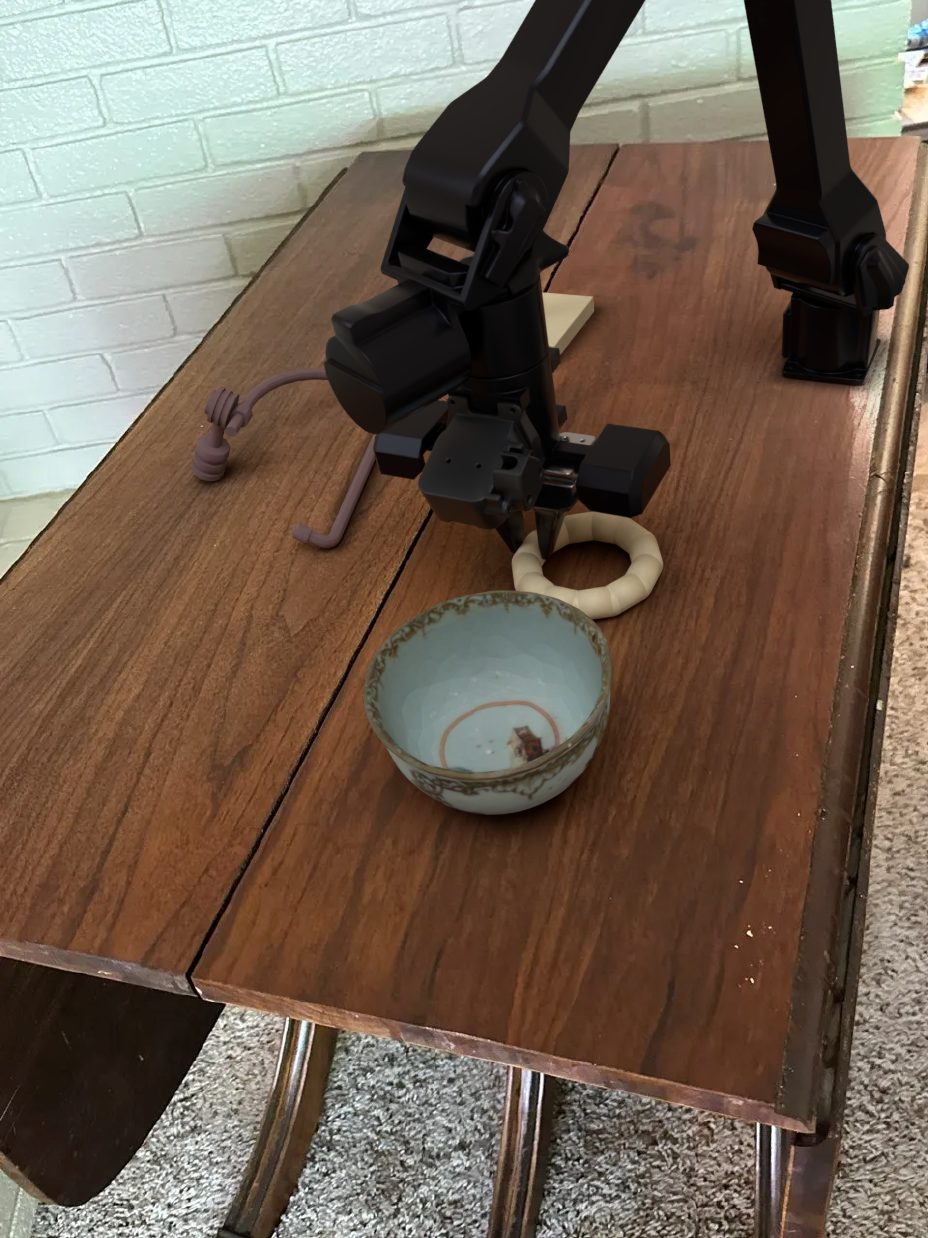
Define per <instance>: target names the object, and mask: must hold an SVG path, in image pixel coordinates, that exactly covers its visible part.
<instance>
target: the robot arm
mask: <svg viewBox="0 0 928 1238" xmlns="http://www.w3.org/2000/svg"><path fill="white" fill-rule="evenodd" d="M645 2H646V0H534V1H533V3H532V5H531V7H530V8H529V10H528V12H527V13H526V16H525V17H524V18H523V20H522V22H521V24H520V25H519V27H518V29H517V31H516V32H515V34H514V35H513V37H512V39H511V41H510V42H509V45H508V46H507V48H506V50H505V51H504V53H503V55H502V56H501V58H500V60H499V61H498V62H497V63H496V64H495V66H494V67H493V68H492V70H491V71H490V72H489V73H488V75H487V76H485V77H484V78H483V79H481V80H480V81H479V82H477V83H476V84H474V85H473V86H471V87H470V88H469V89H467V90H466V91H465V92H463V93H462V94H460V95H459V96H458V97H456V98H455V99H453V100H452V101H451V102H449V104H448V105H447V106H445V109H444V110H443V111H442V112H441V113H440V114H439V116H438V117H437V118H436V119H435V121H434V122H433V123H432V125H430V127H429V129H428V130H427V131H426V132H425V133H424V134H423V136H422V137H421V138H420V139H419V140H418V142H417V143H416V144H415V146H414V148H413V149H412V150H411V152H410V155H409V157H408V159H407V161H406V164H405V167H404V171H403V174H402V185H403V186H404V190H403V193H402V196H401V199H400V202H399V205H398V209H397V212H396V215H395V218H394V222H393V225H392V227H391V232H390V235H389V238H388V242H387V245H386V248H385V251H384V255H383V257H382V261H381V264H380V272H381V274H382V275H383V276H386V277H388V278H391V279H393V280H396V281H397V284H396V285H394V286H392V287H390V288H388V289H386V290H383V292H380V293H378V294H376V295H374V296H373V297H371V298H369V299H366V300H365V301H362V302H360V303H353V304H350V305H348V306H346V307H344V308H342V309H340V310H338V311H336V312H333V314H332V315H331V318H330V321H331V324H332V328H333V331H334V335H333V336H331V337H329V338H328V340H327V341H326V344H325V350H324V351H325V352H324V353H325V360H324V361H323V363H322V364H323V367H324V368H323V369H325V372H326V375H327V378H328V380H327V381H328V383H329V386H330V388H331V389H332V392H333V394H334V396H335V397H336V399H337V401H338V403H339V404H340V406H341V408H342V409H343V410H344V411H345V413H346V414H347V416H348V417H349V418H350V419H351V420H352V421H353V422H354V424H356V425H357V426H358V427H359V428H360V429H362V430H363V431H364V432H366V433H369V434H372V435H373V434H377V435H376V436H375V440H374V445H373V451H374V454H375V458H376V459H375V461H376V465H377V469H378V471H379V473H380V475H384V476H390V477H395V478H401V479H407V480H412V481H413V480H415V479H417V478H418V477H419V478H418V480H417V487H418V489H419V491H420V492H421V495H422V496H423V497H424V499H425V501H426V502H427V504H428V505H429V507H430V509H431V510H432V512H433V513H434V515H435V517H436V518H437V519H438V520H439V521H442V522H445V523H457V524H463V525H468V526H473V527H476V528H478V529H481V530H486V531H490V530H496V532H497V534H498V535H499V537H500V538H501V539H502V541H503V542H504V544H505V545H506V547H507V549H508V550H509V552H511V553H512V554H514V555H515V553H516V552H517V550H518V549H519V547H520V546H521V545H522V543H523V542H524V540H525V539H524V537H525V536H524V535H525V533H524V532H525V529H524V528H525V523H524V512H527V513H528V512H530V511H532V510H533V511H534V518H535V530H536V529H537V539H538V547H539V550H540V554H541V557H542V559H543V560H545V561H549V559H550V557H552V554H553V553H554V552H553V551H554V548H555V545H556V542H557V539H558V536H559V533H560V530H561V527H562V524H563V521H564V518H565V516H566V514H567V512H570V511H571V510H572V509H573V508H575V506H576V504H577V503H578V501H579V502H580V503H581V504H582V505H583V506H584V507H585V508H586V509H587V510H589V512H598V513H604V514H610V515H615V516H621V517H627V518H630V519H632V518H634V517H638V516H640V515H643V513H644V512H645V510H646V508H647V506H648V505H649V503H650V501H651V499H652V498H653V496H654V494H655V493H656V491H657V490H658V488H659V486H660V484H661V483H662V481H663V479H664V477H665V476H666V474H667V473H668V471H669V469H670V468H671V466H672V464H671V463H672V462H671V460H672V459H671V443H670V442H669V440H668V439H667V437H666V435H665V434H664V433H663V432H662V431H660V430H659V429H650V428H644V427H636V426H629V425H622V424H615V423H608V422H607V423H606V424H605V426H604V428H602V430H601V432H600V434H599V435H598V436H597V438H596V436H594V435H590V434H585V433H584V434H583V433H578V432H577V433H576V432H570V431H569V432H568V431H565V432H564V431H563V432H561V433H560V430H561V429H562V427H563V426H564V424H565V423H566V422H567V421H568V413H567V405H564V404H557V401H556V392H555V383H554V375H553V373H555V371H556V370H557V369H558V368H559V366H560V365H561V363H562V361H561V355H560V351H559V348H554V347H549V343H548V335H547V327H546V319H545V310H544V302H543V294H542V292H543V287H542V286H543V285H542V278H541V273H542V272H543V271H545V270H547V269H548V268H550V267H552V266H553V265H555V264H557V263H559V262H561V261H563V260H564V259H566V258H567V257H568V256H569V253H570V247H569V246H568V245H567V244H565V243H562V242H561V241H558V240H557V239H555V238H553V237H552V236H550V235H549V234H548V233H547V232H546V231H545V230H544V229H545V227H546V225H547V222H548V221H549V218H550V216H551V213H552V212H553V209H554V207H555V204H556V202H557V200H558V198H559V195H560V194H561V191H562V189H563V187H564V184H565V183H566V180H567V178H568V175H569V171H570V152H571V132H572V129H573V127H574V125H575V123H576V120H577V118H578V116H579V114H580V111H581V109H582V108H583V106H584V105H585V103H586V101H587V99H588V98H589V97H590V94H591V93H592V91H593V89H594V88H595V86H596V84H597V83H598V82H599V79H600V77H601V76H602V74H603V73H604V71H605V69H606V68H607V66H608V64H609V63H610V61H611V59H613V58H612V57H613V56H614V54H615V52H616V51H617V49H618V47H619V46H620V44H621V42H622V41H623V39H624V38H625V36H626V34H627V32H628V31H629V29H630V27H631V26H632V24H633V23H634V20H635V19H636V18H637V15H638V14H639V12H640V10H641V9H642V7H643V6H644V4H645ZM743 4H744V10H745V11H744V12H745V16H746V22H747V27H748V33H749V39H750V44H751V50H752V55H753V56H752V57H753V62H754V67H755V72H756V78H757V83H758V89H759V94H760V101H761V106H762V112H763V117H764V122H765V129H766V134H767V139H768V145H769V151H770V156H771V163H772V168H773V174H774V179H775V191H774V193H773V195H772V196H771V199H770V201H769V202H768V204H767V206H766V208H765V210H764V212H763V214H762V215H761V216H760V217H758V218H757V219H756V220H755V221H754V222H753V224H752V229H751V230H752V232H753V235H754V237H755V241H756V245H757V253H758V254H757V265H759V266H762V267H765V269H766V271H767V272H768V273H769V275H770V279H771V282H772V285H773V288H774V289H775V290H780V291H781V290H782V291H785V292H786V291H787V292H788V293H791V295H790V300H789V302H788V304H787V306H786V308H785V309H784V310H783V312H782V329H781V330H782V331H781V353H780V354H781V357H782V358H783V359H786V360H785V361H784V364H783V366H782V367H781V375H782V377H786V378H792V379H793V378H795V379H803V380H813V381H821V382H829V383H840V384H847V385H848V384H849V385H863V384H865V382H866V380H867V378H868V376H869V374H870V372H871V369H872V367H873V364H874V362H875V360H876V357H877V355H878V353H879V350H880V348H881V343H882V340H881V338H878V332H879V324H880V323H879V322H880V313H881V311H884V310H890V309H892V308H894V306H895V298H896V297H897V296H899V295H900V294H902V292H903V289H904V286H905V284H906V279H907V275H908V274H909V273H908V272H909V269H910V264H909V263H908V261H907V260H906V259H905V258H904V257H903V256H902V255H901V254H900V252H898V251H897V249H896V248H894V247H893V245H891V243H890V242H889V241H888V240H887V232H886V228H885V224H884V221H883V217H882V213H881V208H880V204H879V201H878V199H877V198H876V196H875V195H874V194H873V192H872V191H871V190H870V189H869V188H868V186H867V185H866V184H865V183H864V182H863V180H862V179H861V178H860V177H859V176H858V174H857V173H856V172H855V170H853V168H852V165H851V159H850V151H849V142H848V134H847V126H846V125H847V124H846V117H845V116H846V115H845V107H844V101H843V92H842V91H843V89H842V82H841V74H840V65H839V64H840V63H839V57H838V56H839V55H838V48H837V39H836V30H835V22H834V21H835V20H834V13H833V4H832V0H743ZM434 238H435V239H438V240H440V241H442V242H446V243H448V244H451V245H454V246H457V247H459V248H462V249H465V250H467V251H469V252H472V253H471V254H469V255H467V256H464V257H463V258H460V260H457V259H454V258H451V257H449V256H447V255H444V254H441V253H439V252H436V251H433V250H432V249H429V248H428V247H429V246H430V244H431V242H432V241H433V240H434ZM446 396H447V398H446V400H442V398H444V397H446ZM426 452H430V454H429V456H428V458H427V460H426V461H425V454H426Z"/></svg>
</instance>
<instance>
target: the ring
mask: <svg viewBox="0 0 928 1238" xmlns="http://www.w3.org/2000/svg"><path fill="white" fill-rule="evenodd" d="M590 541H597V542H601V543H607V544H613V545H616V546H617V547H619V548H621V549H622V550H623V551H625V552H626V553H627V554H629V559H630V563H631V564H630V566H629V567H628V569H627V571H626V573H625V574H624V575H623V576H620V577H619V578H617V579H616V580H614V581H612V582H611V583H609V584H607V585H605V586H599V587H592V588H586V589H579V590H577V589H573V588H569V587H564V586H559V585H555V584H554V583H553V582H551V581H550V580H549V579H548V578H547V577H545V576H544V573H543V565H544V563H546V560H543V559H542V557H541V554H540V550H539V547H538V539H537V529H536V528H535V529H534V530H532V531H531V532H530V533H528V534H527V536H526V537H525V539H524V540H523V543H522V545H521V546H520V547H519V549H518V550H517V552H516V553H515V554H514V555H513V557H512V559H511V569H512V577H513V585H514V589H515V591H524V592H534V593H538V594H542V595H547V596H551V597H554V598H557V599H560V600H562V601H564V602H566V603H569V604H570V605H572V606H574V607H576V608H578V609H580V610H581V611H582V612H584V613H585V614H586V615H587V616H588V617H590V618H591V619H592V620H599V619H605V618H612V617H617V616H618V615H621V614H622V613H623V612H625V611H627V610H628V609H630V608H632V607H634V606H635V605H638V604H639V603H641V602H642V601H644V600H645V599H646V598H648V597H649V596H650V594H651V593H652V591H653V590H654V587H655V585H656V584H657V581H658V580H659V578H660V576H661V574H662V572H663V569H664V560H663V558H662V554H661V550H660V547H659V543H658V540H657V538H656V536H655V535H654V534H653V533H652V532H650V530H648V529H646V528H644V527H643V526H642V525H641V524H639V523H637V522H636V521H635V520H633V519H632V518H627V517H621V516H615V515H610V514H604V513H598V512H593V511H587V512H581V513H580V512H579V513H574V514H567V515H565V518H564V521H563V524H562V527H561V530H560V533H559V536H558V539H557V542H556V545H555V548H554V551H553V553H555V552H557V551H558V550H561V549H562V548H564V547H565V546H568V545H571V544H578V543H584V542H590Z"/></svg>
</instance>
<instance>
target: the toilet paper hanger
mask: <svg viewBox="0 0 928 1238" xmlns="http://www.w3.org/2000/svg"><path fill="white" fill-rule="evenodd" d="M314 380H315V381H328V378H327V375H326V372H325V368H318V367H317V368H316V367H313V368H301V369H294V370H290V371H286V372H281V373H278V374H275V375H273V376H271V377H269V378H267V379H265V380H263V381H262V382H260V383H258V384H257V385H255V386H254V387H253V388H252V389H251V390H250V391H249V392H248V394H246V396H245V397H244V398H243V399H242V401H241V402H240V396H241V395H240V393H238V392H234V393H233V391H232V390H231V389H228V388H226V387H224V386H223V385H222V386H220V387H219V388H218V390H215V389H213V390H212V391H211V393H210V395H209V397H208V399H207V401H206V404H205V407H204V411H203V413H204V414H205V415H206V416H207V418H206V421H207V422H208V423H210V424H211V428H210V432H209V433H204V434H202V435H201V436H199V438H197V441H196V445H195V449H194V454H193V458H192V462H191V466H190V469H191V471H192V473H193V475H194V476H196V477H197V478H198V479H200V480H202V481H206V482H215V481H219V480H220V479H222V478H223V477H224V474H225V472H226V471H225V470H226V467H227V463H228V459H229V457H230V453H231V444H230V443H229V442H228V440H227V439H226V438H225V437H224V435H225V434H226V435H227V436H229V437H233V438H234V437H236V436H237V434H238V433H239V432H240V430H241V429H242V428H246V427H247V426H248V424H249V423H250V421H251V419H252V418H253V415H254V413H253V408H254V406H255V405H256V404H257V403H258V402H259V401H260V399H261V398H263V397H264V396H266V395H267V394H269V393H270V392H272V391H274V390H276V389H279V388H281V387H282V386H286V385H289V384H293V383H296V382H305V381H314ZM376 435H377V434H372V437H371V439H370V441H369V444H368V446H367V448H366V450H365V453H364V455H363V457H362V459H361V461H360V464H359V466H358V468H357V470H356V473H355V475H354V477H353V480H352V482H351V483H350V486H349V489H348V490H347V493H346V495H345V497H344V499H343V501H342V504H341V505H340V508H339V511H338V512H337V515H336V518H335V520H334V522H333V525H332V526H331V529H330V531H329V533H328V534H322V533H319V532H317V531H315V530H313V528H312V527H310V526H307V525H305V524H304V523H303V524H302V523H301V522H299V523H296V524H295V525H294V526H293V528H292V531H291V537H292V539H294V540H296V541H299V542H301V543H303V544H305V545H306V544H307V543H308V544H310V545H313V546H315V547H318V548H321V549H322V548H323V549H331V548H334V547H336V546H337V545H338V544H339V543H340V541H341V540H342V538H343V536H344V533H345V532H346V529H347V526H348V524H349V522H350V519H351V517H352V515H353V513H354V510H355V508H356V506H357V504H358V502H359V501H358V500H359V499H360V496H361V494H362V491H363V489H364V487H365V484H366V482H367V480H368V478H369V476H370V473H371V472H372V471H371V470H372V468H373V466H374V463H375V461H376V458H375V454H374V451H373V445H374V440H375V436H376Z"/></svg>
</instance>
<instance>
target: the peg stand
mask: <svg viewBox="0 0 928 1238" xmlns="http://www.w3.org/2000/svg"><path fill="white" fill-rule="evenodd" d="M542 294H543V302H544V310H545V319H546V327H547V335H548V343H549V347H554V348H559V351H560V356H562V354H563V353H564V351H565V350H566V349H567V348H568V346H569V345H570V344H571V342H572V341H573V340H574V338H576V336H577V334H578V333H579V332H580V330H581V329H582V328H583V327H584V325H585V324H586V323H587V321H588V320H589V319H590V318H591V316H593V314H594V312H595V305H594V303H595V302H594V301H595V300H594V296H588V295H579V294H567V293H566V294H565V293H555V292H543V291H542Z"/></svg>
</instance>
